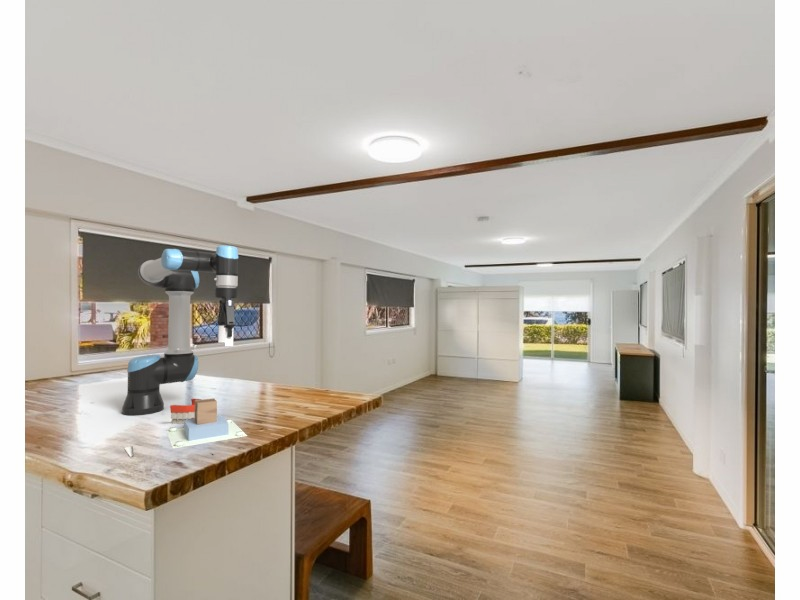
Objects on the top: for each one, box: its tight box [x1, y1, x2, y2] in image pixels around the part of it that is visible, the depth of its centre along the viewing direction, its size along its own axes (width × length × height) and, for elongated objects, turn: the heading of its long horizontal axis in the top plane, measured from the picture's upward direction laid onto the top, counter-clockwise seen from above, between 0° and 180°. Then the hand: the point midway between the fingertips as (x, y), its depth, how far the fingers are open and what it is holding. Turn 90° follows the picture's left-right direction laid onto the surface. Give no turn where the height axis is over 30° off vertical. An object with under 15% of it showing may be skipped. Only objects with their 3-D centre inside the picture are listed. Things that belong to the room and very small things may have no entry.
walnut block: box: [195, 397, 218, 425], centre depth 139 cm, size 6×6×7 cm
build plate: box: [165, 419, 248, 449], centre depth 139 cm, size 22×22×2 cm
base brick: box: [183, 414, 229, 441], centre depth 139 cm, size 12×12×4 cm
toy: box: [169, 398, 203, 425], centre depth 155 cm, size 12×10×8 cm
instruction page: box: [123, 445, 135, 458], centre depth 125 cm, size 10×7×1 cm
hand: (225, 344), depth 151 cm, fingers open, 13 cm apart
